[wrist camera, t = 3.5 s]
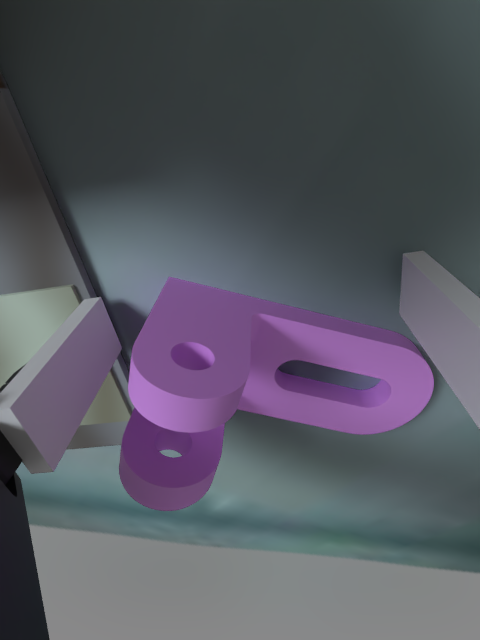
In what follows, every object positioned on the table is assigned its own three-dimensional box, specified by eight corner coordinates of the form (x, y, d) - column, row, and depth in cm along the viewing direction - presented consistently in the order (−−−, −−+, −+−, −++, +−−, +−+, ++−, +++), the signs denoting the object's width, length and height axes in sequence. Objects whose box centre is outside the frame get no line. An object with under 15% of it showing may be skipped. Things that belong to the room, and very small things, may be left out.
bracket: (154, 371, 18) (103, 500, 12) (169, 275, 15) (113, 381, 9) (389, 422, 19) (447, 563, 13) (444, 342, 17) (549, 475, 11)
